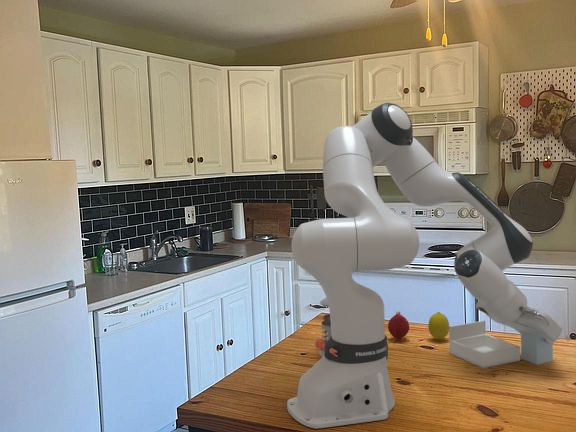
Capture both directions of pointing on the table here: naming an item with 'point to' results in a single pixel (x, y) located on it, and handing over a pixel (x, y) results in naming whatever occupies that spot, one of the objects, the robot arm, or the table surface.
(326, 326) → the french press
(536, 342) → the carton
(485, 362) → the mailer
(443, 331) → the lemon
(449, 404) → the table surface
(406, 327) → the onion
